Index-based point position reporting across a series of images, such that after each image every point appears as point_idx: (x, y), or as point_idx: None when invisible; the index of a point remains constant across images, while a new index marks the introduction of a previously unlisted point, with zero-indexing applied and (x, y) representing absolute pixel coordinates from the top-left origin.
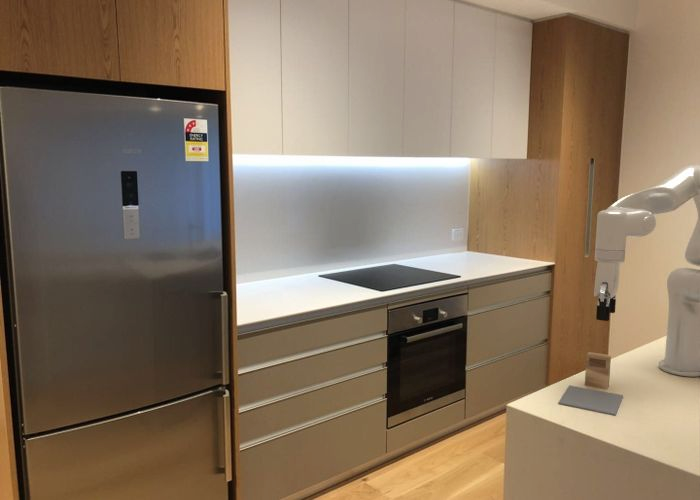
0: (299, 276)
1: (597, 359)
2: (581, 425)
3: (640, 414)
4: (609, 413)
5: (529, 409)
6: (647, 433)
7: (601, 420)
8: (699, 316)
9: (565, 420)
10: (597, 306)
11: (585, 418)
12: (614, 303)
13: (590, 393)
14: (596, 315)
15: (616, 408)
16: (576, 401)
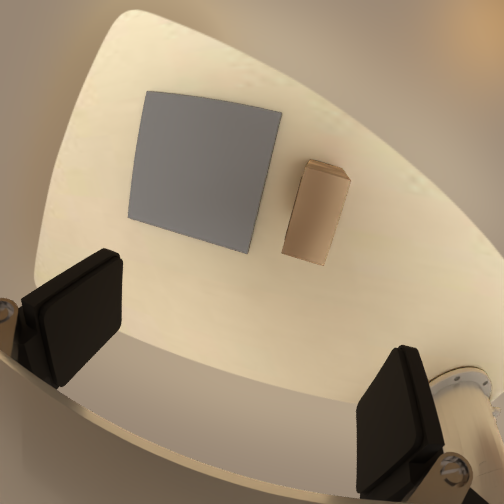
0: None
1: (293, 208)
2: (76, 149)
3: (161, 269)
4: (129, 205)
5: (112, 43)
6: None
7: (105, 186)
8: None
9: (84, 118)
10: (29, 298)
11: (102, 155)
12: (357, 468)
13: (231, 168)
14: (88, 258)
15: (156, 223)
16: (165, 132)
